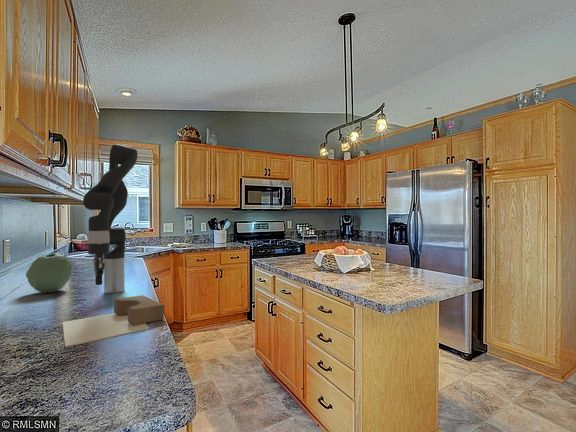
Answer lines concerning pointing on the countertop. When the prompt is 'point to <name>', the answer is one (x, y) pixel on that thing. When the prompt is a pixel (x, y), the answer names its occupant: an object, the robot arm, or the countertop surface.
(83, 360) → the countertop surface
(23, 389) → the countertop surface
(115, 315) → the sand mat
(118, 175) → the robot arm
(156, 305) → the decorative block
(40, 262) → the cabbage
